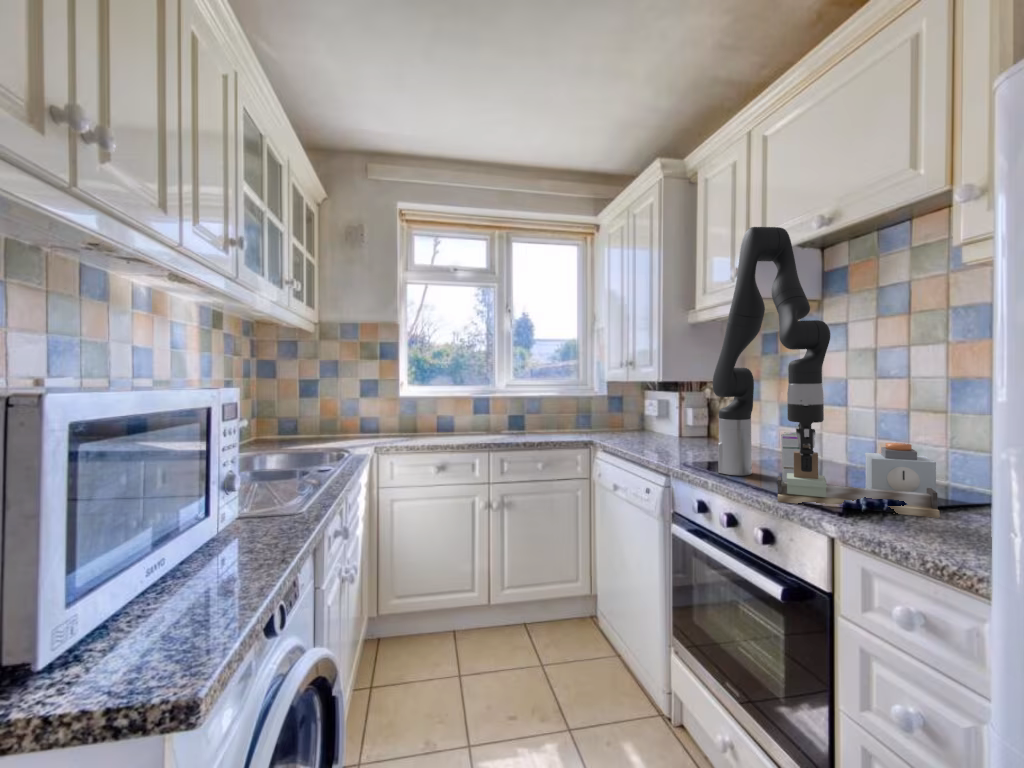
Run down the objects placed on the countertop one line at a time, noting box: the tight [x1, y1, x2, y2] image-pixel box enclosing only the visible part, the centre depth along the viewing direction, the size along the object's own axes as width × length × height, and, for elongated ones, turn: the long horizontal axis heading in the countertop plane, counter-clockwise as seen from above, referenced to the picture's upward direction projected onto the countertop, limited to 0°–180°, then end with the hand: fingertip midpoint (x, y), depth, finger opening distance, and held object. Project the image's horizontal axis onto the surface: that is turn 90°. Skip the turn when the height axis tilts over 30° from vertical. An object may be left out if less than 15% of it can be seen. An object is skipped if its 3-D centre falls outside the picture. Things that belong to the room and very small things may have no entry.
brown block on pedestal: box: [787, 451, 827, 497], centre depth 116 cm, size 8×7×10 cm
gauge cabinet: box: [864, 446, 937, 493], centre depth 117 cm, size 12×11×12 cm
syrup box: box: [780, 431, 800, 482], centre depth 132 cm, size 6×6×14 cm
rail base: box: [777, 475, 941, 519], centre depth 111 cm, size 30×8×5 cm, turn 60°
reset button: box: [885, 442, 913, 451], centre depth 117 cm, size 5×5×3 cm
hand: (805, 468), depth 116 cm, fingers open, 8 cm apart
